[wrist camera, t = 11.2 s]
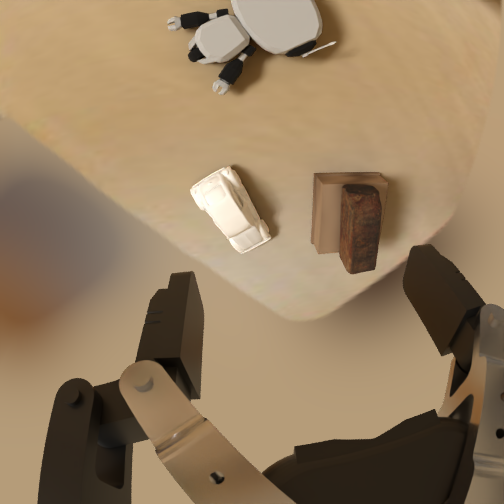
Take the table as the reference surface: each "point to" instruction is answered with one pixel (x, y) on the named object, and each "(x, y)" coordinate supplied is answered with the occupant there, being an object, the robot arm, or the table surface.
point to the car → (231, 209)
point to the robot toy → (251, 33)
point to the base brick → (337, 205)
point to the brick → (359, 227)
